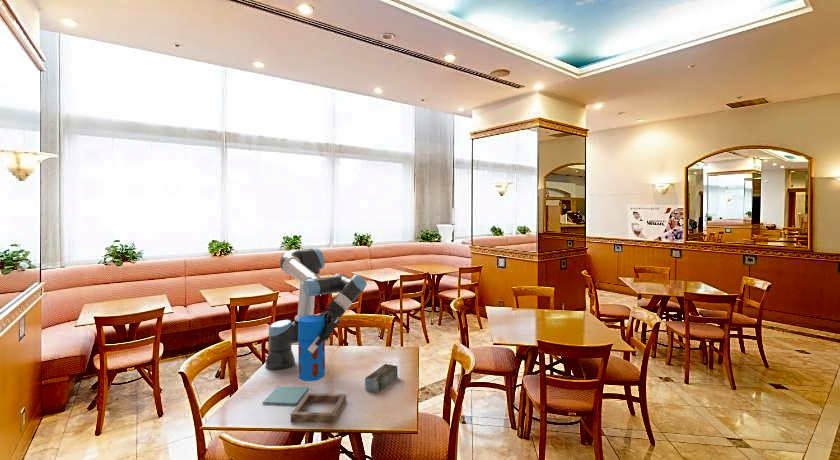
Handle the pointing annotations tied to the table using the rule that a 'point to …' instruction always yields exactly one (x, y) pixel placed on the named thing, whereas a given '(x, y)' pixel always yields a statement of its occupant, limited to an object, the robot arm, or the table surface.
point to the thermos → (307, 333)
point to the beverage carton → (381, 378)
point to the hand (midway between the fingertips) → (305, 347)
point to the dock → (318, 417)
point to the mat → (286, 395)
